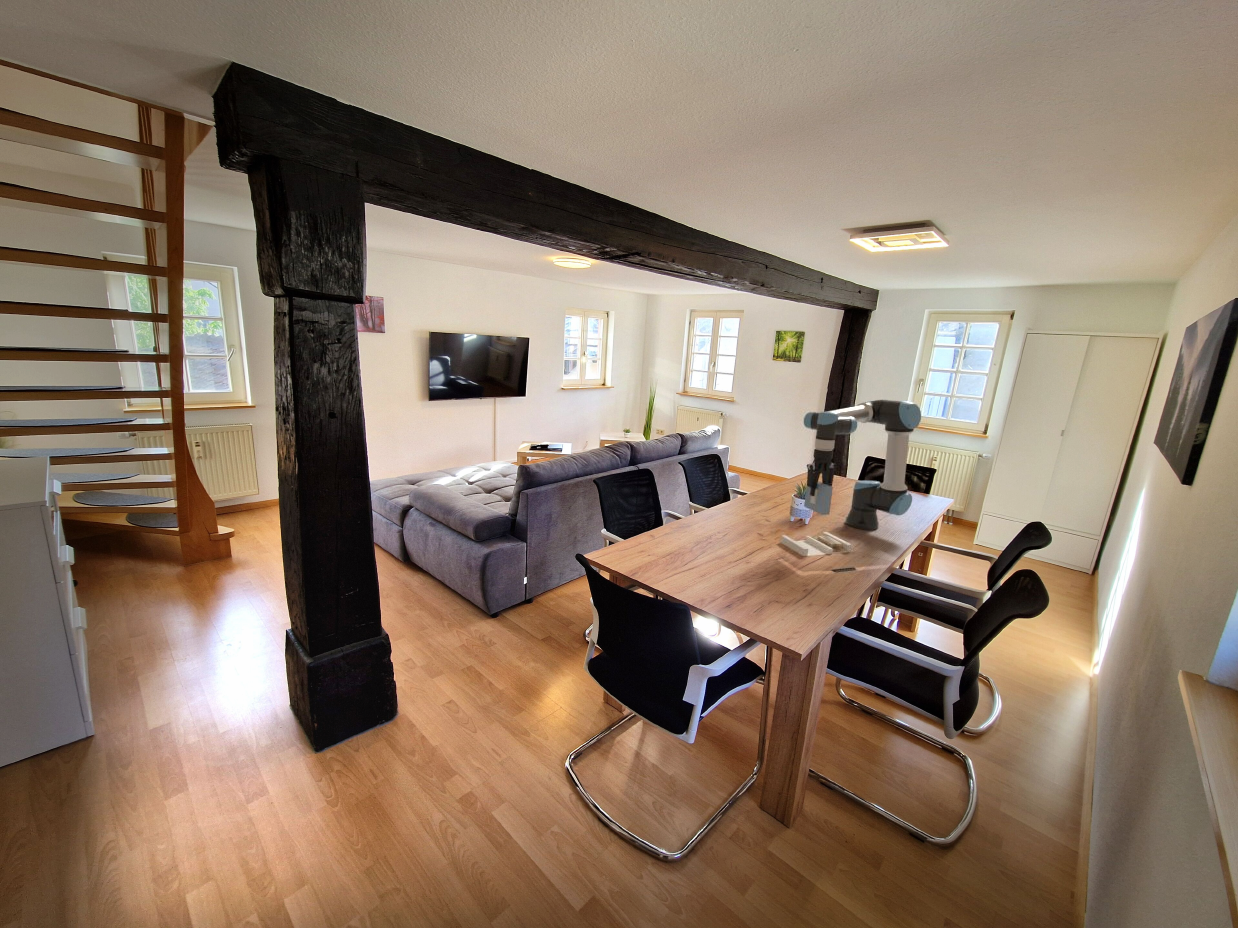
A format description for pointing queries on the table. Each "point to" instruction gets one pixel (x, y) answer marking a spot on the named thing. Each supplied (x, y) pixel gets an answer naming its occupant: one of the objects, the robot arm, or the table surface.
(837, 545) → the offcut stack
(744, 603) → the table surface
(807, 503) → the blue-grey square block
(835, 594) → the table surface
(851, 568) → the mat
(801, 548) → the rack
